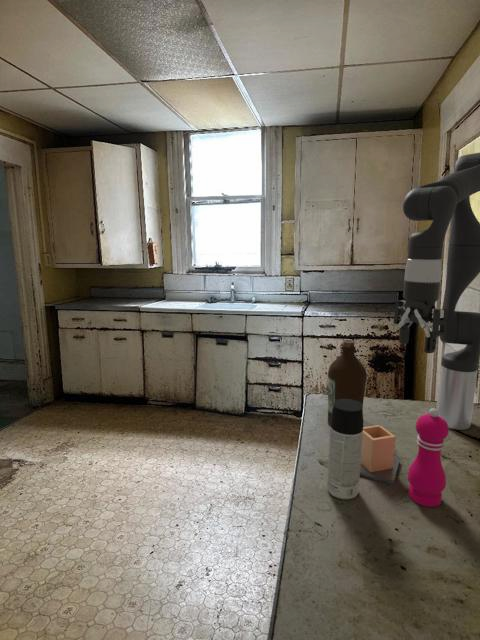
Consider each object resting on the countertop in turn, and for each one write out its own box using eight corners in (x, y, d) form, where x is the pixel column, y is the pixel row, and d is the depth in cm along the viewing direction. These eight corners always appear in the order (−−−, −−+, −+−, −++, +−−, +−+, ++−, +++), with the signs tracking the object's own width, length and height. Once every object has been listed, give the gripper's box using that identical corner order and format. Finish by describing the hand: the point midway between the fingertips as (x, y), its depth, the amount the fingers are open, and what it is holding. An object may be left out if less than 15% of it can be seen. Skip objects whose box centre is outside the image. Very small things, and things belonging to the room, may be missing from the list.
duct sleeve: (377, 454, 98) (379, 424, 96) (392, 468, 92) (395, 436, 91) (355, 458, 96) (357, 428, 94) (370, 472, 90) (372, 440, 89)
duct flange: (357, 452, 101) (359, 426, 99) (399, 462, 96) (401, 436, 95) (347, 472, 92) (349, 444, 91) (393, 484, 88) (395, 455, 86)
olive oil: (358, 416, 121) (363, 337, 116) (366, 433, 111) (373, 346, 105) (323, 415, 122) (326, 336, 117) (328, 432, 111) (332, 346, 106)
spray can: (359, 484, 88) (365, 400, 83) (357, 504, 81) (364, 413, 77) (328, 479, 90) (332, 395, 86) (324, 497, 83) (329, 408, 79)
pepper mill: (427, 513, 79) (438, 419, 74) (398, 492, 85) (406, 405, 81) (451, 502, 82) (462, 412, 78) (421, 483, 88) (430, 399, 84)
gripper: (460, 282, 85) (452, 355, 88) (414, 275, 98) (408, 339, 101) (431, 283, 82) (424, 357, 86) (388, 276, 96) (383, 341, 99)
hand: (415, 347), depth 94 cm, fingers open, 8 cm apart
